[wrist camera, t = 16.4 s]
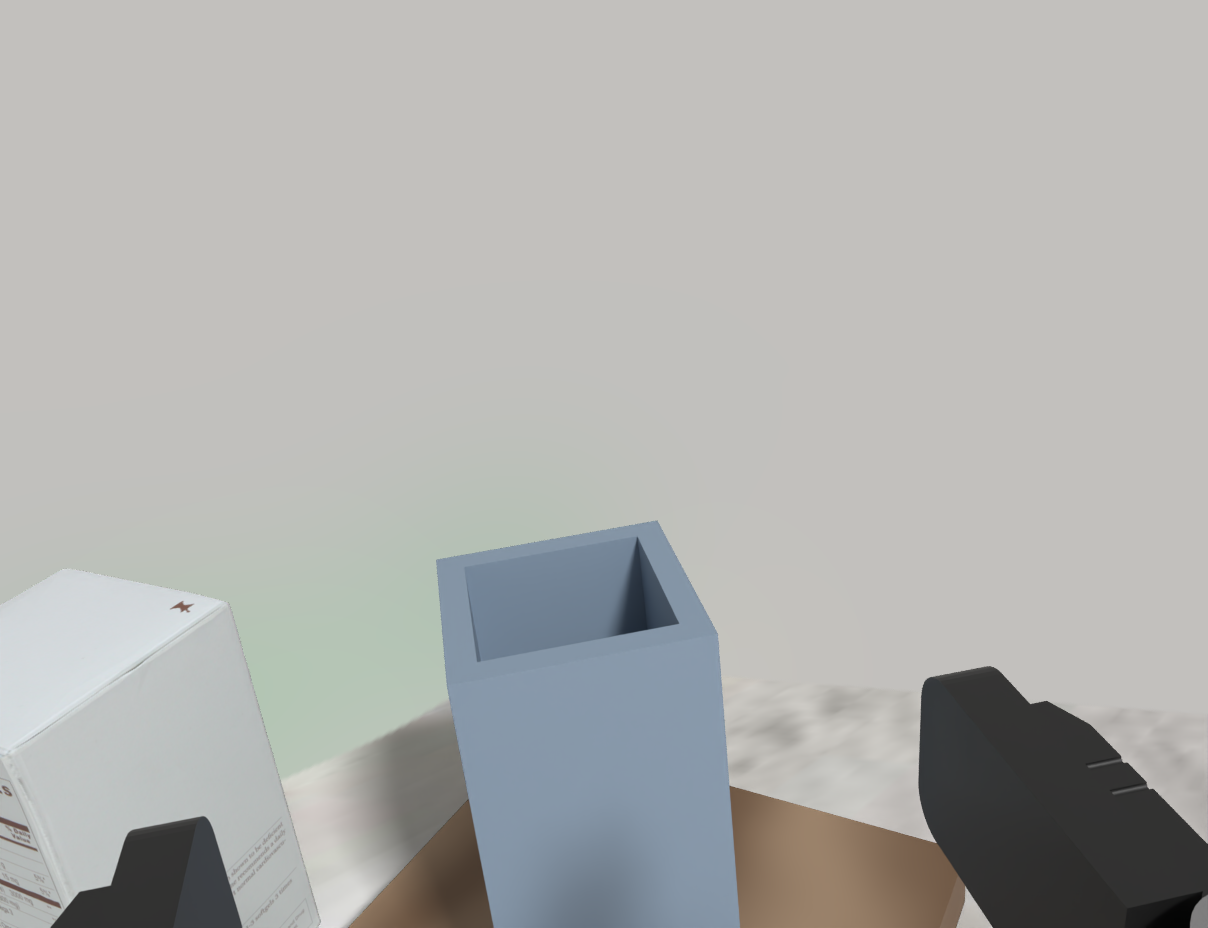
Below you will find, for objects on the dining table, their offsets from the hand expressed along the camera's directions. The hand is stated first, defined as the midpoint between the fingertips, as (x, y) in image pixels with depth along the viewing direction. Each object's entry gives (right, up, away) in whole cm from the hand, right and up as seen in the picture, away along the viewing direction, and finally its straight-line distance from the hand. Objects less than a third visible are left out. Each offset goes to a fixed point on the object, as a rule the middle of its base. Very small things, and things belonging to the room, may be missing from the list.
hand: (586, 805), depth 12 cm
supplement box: (-14, -13, +23) cm, 30 cm away
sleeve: (+1, -10, +19) cm, 22 cm away
